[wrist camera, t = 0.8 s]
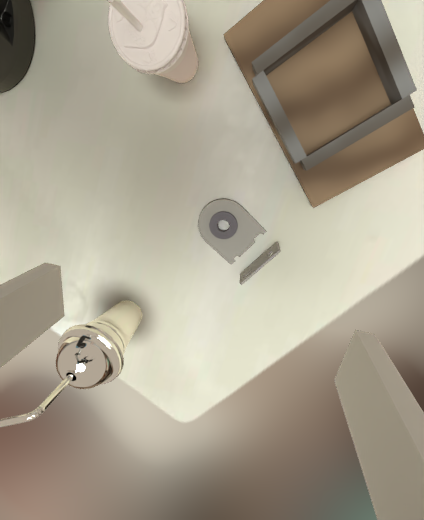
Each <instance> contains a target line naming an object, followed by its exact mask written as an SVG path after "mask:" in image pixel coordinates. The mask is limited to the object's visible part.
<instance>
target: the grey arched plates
mask: <svg viewBox="0 0 424 520" xmlns="http://www.w3.org/2000/svg"><path fill="white" fill-rule="evenodd" d="M220 220H226V221H228V222H229V225H230V227H229V229H228V230H225V231H223V230H220V229H219V228H218V222H219V221H220ZM198 227H199V231H200V234H201V236H202V238H203V239H204V240H205V241H206V242H207V243H208V244H209V245H210V246H211V247H212V248H213V249H214V250H216V251H217V252H218V253H219V254H220V255H221V256H222V257H223V258H224V259H225V260H226V261H228V262H229V263H230V264H233V263H234V262H235V260H234V258H235V256H239V257H240V256H241V255H242V254H243V253H244V252H245V251H246V250H247V249H248V248H249V247H250V246H252V245H253V244H254V243H255V241H254V238H255V237H256V236H257V235H258V234H264V233H265V232H266V230H265V229H264V228H263V227H262V226H261V225H260V224H259V223H258V222H257V221H256V220H255V219H254V218H253V217H252V216H251V215H250V214H249V213H248V212H247V211H246V210H245V209H244V208H243V207H242V206H241V205H239V204H238V203H236V202H234V201H232V200H228V199H219V200H215V201H213V202H211V203H209V204H208V205H207V206H206V207H205V208H204V209H203V210H202V212H201V214H200V216H199V221H198ZM272 252H273V254H272V255H271V256H270V257H269V255H270V254H271V253H272ZM279 252H280V247H279V244H278V242H276V243H275V244H274V245H272V246H271V247H270V248H269V249H268V250H267V251H265V252H264V253H263V254H262V255H261V256H260V257H259V258H257V259H256V260H255V261H254V262H253V263H252V264H251V265H249V266H248V267H247V268H246V269H245V270H244V271H243V272H242V273H241V274H240V284H241V285H242V284H243V283H245V282H246V281H247V280H248V279H249V278H250V277H252V276H253V275H254V274H255V273H256V272H257V271H259V270H260V269H261V268H262V267H263V266H264V265H266V264H267V263H268V262H269V261H270V260H271V259H273V258H274V257H275V256H276V255H277V254H278V253H279ZM246 275H247V276H246ZM245 276H246V277H245Z"/></svg>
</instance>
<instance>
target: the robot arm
mask: <svg viewBox="0 0 424 520" xmlns="http://www.w3.org/2000/svg"><path fill="white" fill-rule="evenodd" d="M33 47H34V21H33V14H32V9H31V5H30V1H29V0H0V93H1V92H4V91H7V90H9V89H11V88H12V87H14V86H15V85H16V84H17V83H18V82H19V81H20V80H21V79H22V77H23V76H24V74H25V73H26V71H27V69H28V67H29V64H30V61H31V58H32V53H33ZM63 317H64V304H63V292H62V280H61V267H60V266H59V265H54V264H49V263H43V264H41V265H39V266H37V267H35V268H33V269H31V270H29V271H27V272H25V273H23V274H21V275H19V276H17V277H15V278H13V279H11V280H9V281H7V282H5V283H3V284H1V285H0V368H1V367H2V366H3V365H5V364H6V363H7V362H8V361H10V360H11V359H12V358H13V357H14V356H16V355H17V354H18V353H19V352H21V351H22V350H23V349H24V348H25V347H27V346H28V345H29V344H31V343H32V342H33V341H34V340H35V339H37V338H38V337H39V336H40V335H42V334H43V333H44V332H45V331H46V330H48V329H49V328H50V327H51V326H53V325H54V324H55V323H56V322H58V321H59V320H60V319H61V318H63ZM334 381H335V385H336V388H337V391H338V394H339V397H340V401H341V404H342V407H343V410H344V413H345V416H346V420H347V423H348V426H349V430H350V433H351V436H352V439H353V442H354V446H355V449H356V452H357V455H358V458H359V462H360V465H361V468H362V471H363V474H364V478H365V481H366V484H367V487H368V491H369V494H370V497H371V500H372V503H373V507H374V510H375V513H376V516H377V519H378V520H424V413H423V411H422V409H421V408H420V406H419V405H418V403H417V401H416V400H415V398H414V396H413V395H412V393H411V392H410V390H409V388H408V387H407V385H406V384H405V382H404V380H403V379H402V377H401V375H400V374H399V372H398V371H397V369H396V367H395V366H394V364H393V363H392V361H391V359H390V358H389V356H388V354H387V353H386V351H385V350H384V348H383V346H382V345H381V343H380V341H379V340H378V338H377V337H376V335H375V334H372V333H368V332H363V331H359V330H355V332H354V334H353V337H352V339H351V342H350V344H349V346H348V349H347V351H346V353H345V356H344V358H343V360H342V363H341V365H340V367H339V370H338V372H337V375H336V377H335V379H334Z"/></svg>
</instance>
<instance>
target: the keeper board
mask: <svg viewBox="0 0 424 520" xmlns="http://www.w3.org/2000/svg"><path fill="white" fill-rule="evenodd" d="M224 38H225V40H226V42H227V44H228V46H229V48H230V50H231V52H232V54H233V56H234V57H235V59H236V61H237V63H238V65H239V67H240V69H241V71H242V73H243V75H244V77H245V79H246V80H247V82H248V84H249V86H250V88H251V90H252V92H253V94H254V96H255V98H256V100H257V102H258V103H259V105H260V107H261V109H262V111H263V113H264V115H265V117H266V119H267V121H268V123H269V125H270V126H271V128H272V130H273V132H274V134H275V136H276V138H277V140H278V142H279V144H280V146H281V148H282V149H283V151H284V153H285V155H286V157H287V159H288V161H289V163H290V165H291V167H292V169H293V171H294V172H295V174H296V176H297V178H298V180H299V182H300V184H301V186H302V188H303V190H304V192H305V194H306V195H307V197H308V199H309V201H310V203H311V205H312V207H313V208H314V207H316V206H318V205H320V204H322V203H324V202H326V201H327V200H329V199H331V198H333V197H335V196H337V195H339V194H341V193H342V192H344V191H346V190H348V189H350V188H352V187H354V186H355V185H357V184H359V183H361V182H363V181H365V180H367V179H369V178H370V177H372V176H374V175H376V174H378V173H380V172H382V171H384V170H385V169H387V168H389V167H391V166H393V165H395V164H397V163H398V162H400V161H402V160H404V159H406V158H408V157H410V156H412V155H413V154H415V153H417V152H419V151H421V150H423V149H424V134H423V131H422V129H421V126H420V124H419V121H418V119H417V117H416V114H415V112H414V109H413V108H414V105H413V102H412V100H411V97H410V94H411V93H413V92H415V91H416V87H415V84H414V82H413V79H412V77H411V74H410V72H409V69H408V67H407V64H406V62H405V59H404V57H403V54H402V52H401V49H400V47H399V44H398V42H397V39H396V36H395V34H394V31H393V29H392V26H391V24H390V21H389V19H388V16H387V14H386V11H385V9H384V6H383V4H382V1H381V0H263V1H262V2H261V3H260V4H259V5H258V6H256V7H255V8H254V9H253V10H252V11H251V12H249V13H248V14H247V15H246V16H245V17H244V18H242V19H241V20H240V21H239V22H238V23H237V24H235V25H234V26H233V27H232V28H231V29H230V30H228V31H227V32H226V33H225V34H224Z"/></svg>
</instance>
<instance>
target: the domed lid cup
mask: <svg viewBox="0 0 424 520" xmlns="http://www.w3.org/2000/svg"><path fill="white" fill-rule="evenodd" d="M141 320H142V311H141V309H140V308H139V306H138V305H137V304H135V303H134V302H132V301H128V300H124V301H121V302H119V303H118V304H117V305H115V306H113V307H112V308H110V309H109V310H108V311H106V312H105V313H103V314H102V315H100V316H99V317H98V318H96V319H95V320H93V321H91V322H89V323H87V324H85V325H82V324H80V325H75V326H72V327H70V328H69V329H67V330H66V331H65V333H64V334H63V335H62V337H61V338H60V341H59V344H58V354H57V357H56V369H57V372H58V374H59V376H60V378H61V379H62V380H63V381H62V382H61V383H60V384H59V385H58V387H57V388H56V389H55V390H54V391H53V392H52V393H51V394H50V395H49V396H48V397H47V398H46V399H45V400H44V402H43V403H42V404H41V405H40V406H39V407H38V408H37V409H35V410H34V411H32V412H30V413H27V414H23V415H18V416H13V417H8V418H4V419H0V427H4V426H9V425H13V424H18V423H23V422H27V421H31V420H33V419H35V418H37V417H38V416H39V415H41V414H42V413H43V412H44V411H45V410H46V409H47V408H48V406H49V405H50V404H51V403H52V402H53V401H54V400H55V399H56V397H57V396H58V395H59V394H60V393H61V392H62V391H63V390H64V388H65V387H66V386H67V385H69V386H72V387H74V388H78V389H89V388H93V387H95V386H98V385H100V384H106V383H109V382H111V381H112V380H114V379H115V378H116V377H117V376H118V375H119V374H120V373H121V371H122V369H123V364H124V358H123V354H124V352H125V349H126V347H127V345H128V343H129V342H130V340H131V338H132V336H133V334H134V333H135V331H136V329H137V327H138V325H139V323H140V322H141Z"/></svg>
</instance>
